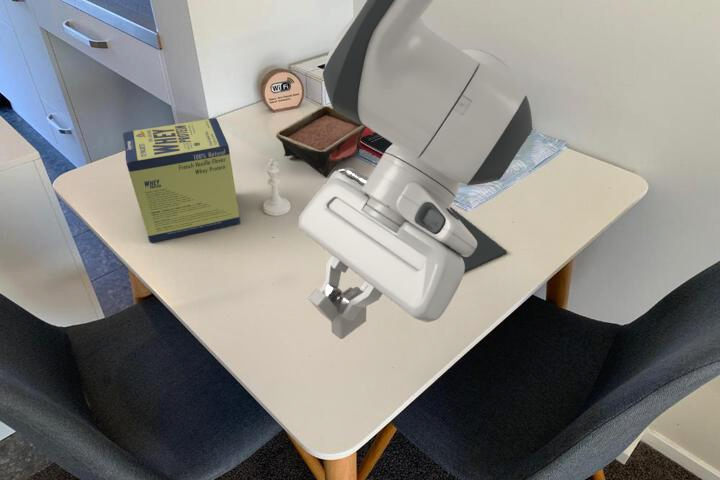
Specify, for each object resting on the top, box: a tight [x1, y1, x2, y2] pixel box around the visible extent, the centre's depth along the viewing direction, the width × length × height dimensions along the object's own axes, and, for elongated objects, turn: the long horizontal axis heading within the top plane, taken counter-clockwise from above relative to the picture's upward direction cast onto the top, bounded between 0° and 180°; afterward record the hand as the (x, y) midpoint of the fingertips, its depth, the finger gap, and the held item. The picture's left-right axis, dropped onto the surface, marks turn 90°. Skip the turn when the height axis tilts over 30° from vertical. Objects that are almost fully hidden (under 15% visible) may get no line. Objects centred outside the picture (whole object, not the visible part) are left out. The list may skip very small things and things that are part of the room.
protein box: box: [122, 117, 241, 244], centre depth 88 cm, size 10×16×16 cm
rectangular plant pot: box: [275, 105, 368, 178], centre depth 107 cm, size 14×18×10 cm
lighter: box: [307, 286, 367, 340], centre depth 57 cm, size 7×2×8 cm, turn 135°
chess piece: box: [262, 158, 291, 217], centre depth 92 cm, size 5×5×10 cm
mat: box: [450, 206, 508, 274], centre depth 89 cm, size 20×16×1 cm
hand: (334, 308), depth 56 cm, fingers closed on lighter, 2 cm apart
